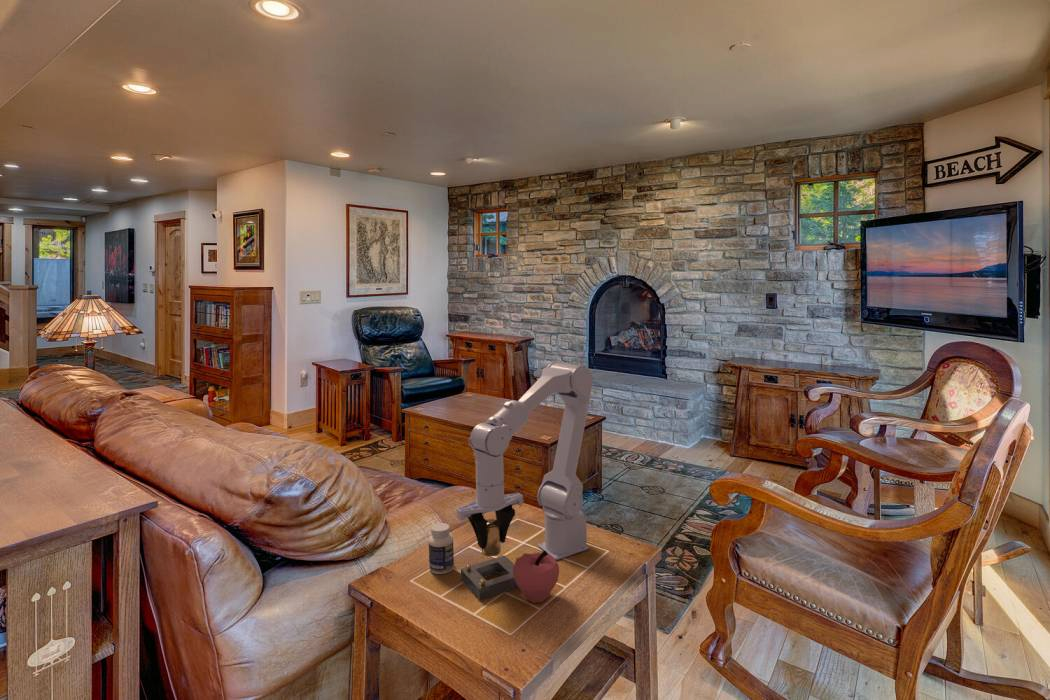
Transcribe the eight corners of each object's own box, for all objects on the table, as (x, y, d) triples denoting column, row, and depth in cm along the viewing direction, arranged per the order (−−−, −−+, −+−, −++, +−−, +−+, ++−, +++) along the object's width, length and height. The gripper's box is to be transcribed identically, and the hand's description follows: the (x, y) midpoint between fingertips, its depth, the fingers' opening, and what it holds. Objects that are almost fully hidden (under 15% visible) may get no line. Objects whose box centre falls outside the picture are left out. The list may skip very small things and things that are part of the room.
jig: (504, 565, 123) (504, 551, 123) (525, 584, 116) (524, 569, 115) (461, 579, 118) (460, 564, 117) (479, 600, 110) (479, 584, 110)
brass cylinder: (496, 545, 119) (495, 516, 118) (503, 553, 115) (503, 524, 114) (479, 549, 117) (477, 520, 116) (486, 558, 113) (485, 528, 112)
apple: (532, 581, 117) (531, 536, 116) (567, 594, 112) (567, 547, 111) (505, 603, 109) (503, 556, 108) (541, 618, 104) (541, 569, 103)
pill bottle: (449, 576, 119) (447, 533, 118) (425, 573, 120) (424, 531, 119) (457, 563, 125) (455, 522, 123) (434, 561, 126) (433, 520, 124)
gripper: (511, 468, 121) (512, 527, 123) (449, 482, 113) (451, 544, 115) (527, 478, 115) (528, 540, 117) (463, 494, 107) (466, 559, 109)
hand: (491, 543), depth 116 cm, fingers closed on brass cylinder, 4 cm apart
